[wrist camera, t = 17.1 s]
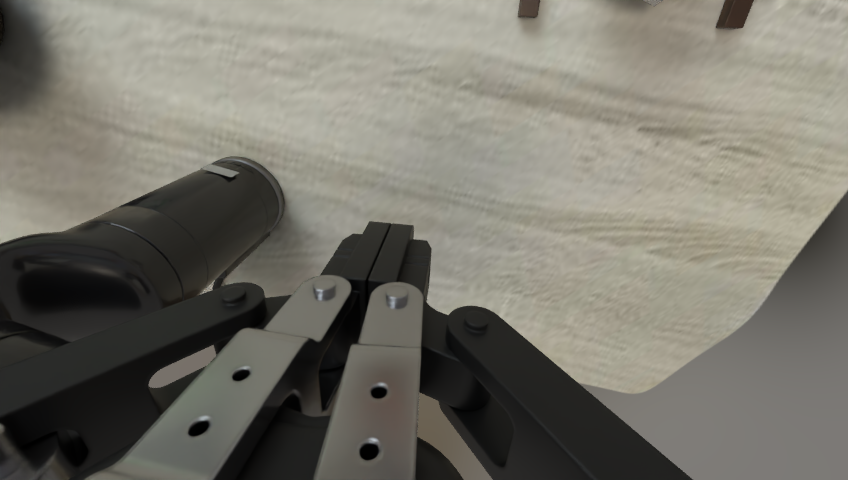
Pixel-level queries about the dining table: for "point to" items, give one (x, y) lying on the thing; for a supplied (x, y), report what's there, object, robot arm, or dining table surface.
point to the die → (653, 2)
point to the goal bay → (730, 18)
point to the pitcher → (1, 28)
